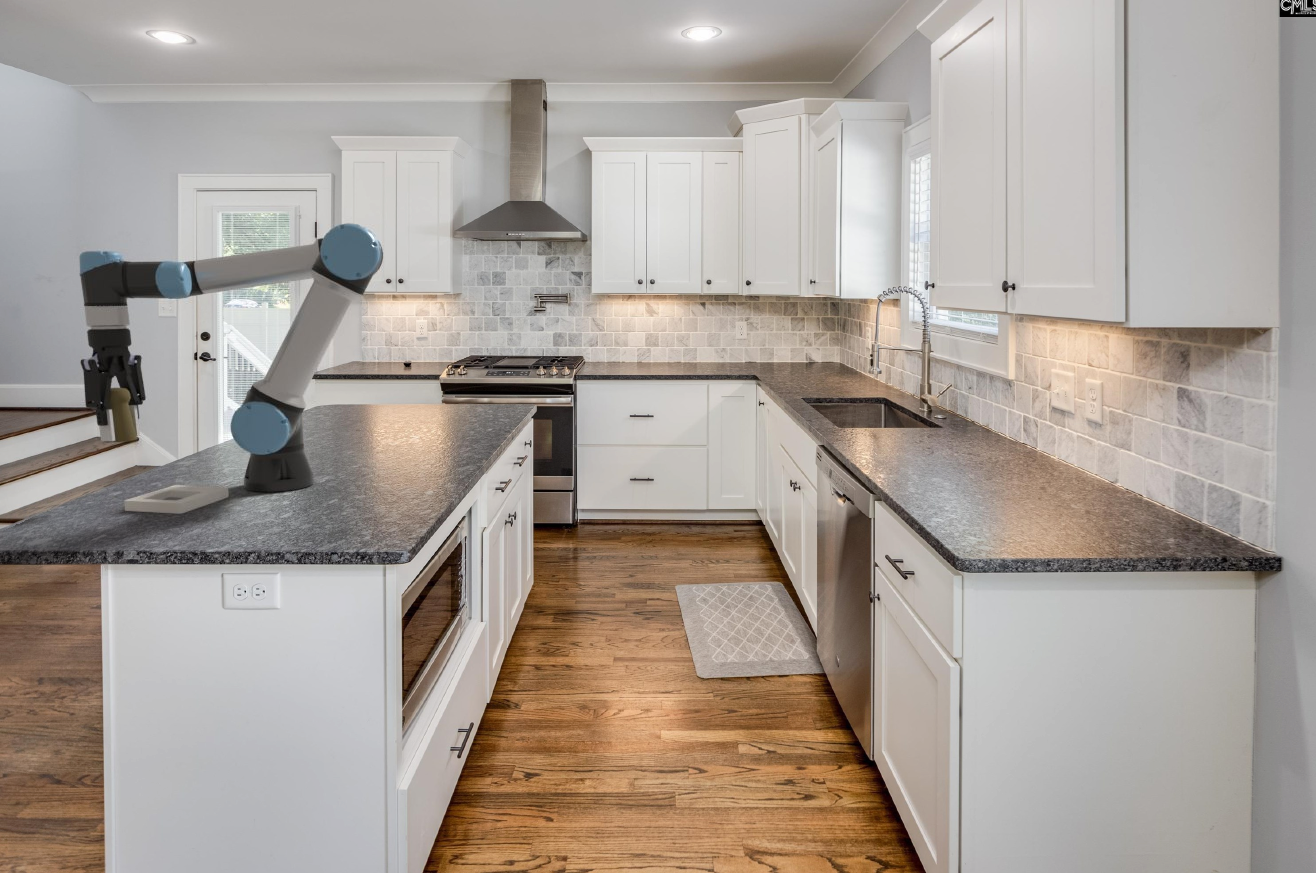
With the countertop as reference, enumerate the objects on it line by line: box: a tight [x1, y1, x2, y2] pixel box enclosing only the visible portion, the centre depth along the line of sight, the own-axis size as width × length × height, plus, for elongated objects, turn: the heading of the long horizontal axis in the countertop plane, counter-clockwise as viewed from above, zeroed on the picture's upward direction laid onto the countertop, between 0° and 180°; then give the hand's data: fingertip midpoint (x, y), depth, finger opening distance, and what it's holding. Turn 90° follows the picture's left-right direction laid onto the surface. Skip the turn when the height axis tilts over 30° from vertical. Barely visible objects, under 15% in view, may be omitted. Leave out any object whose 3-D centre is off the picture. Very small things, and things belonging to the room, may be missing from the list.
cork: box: [103, 387, 138, 443], centre depth 178 cm, size 6×6×11 cm
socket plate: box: [123, 484, 229, 514], centre depth 183 cm, size 15×13×2 cm
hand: (120, 437), depth 179 cm, fingers closed on cork, 6 cm apart
